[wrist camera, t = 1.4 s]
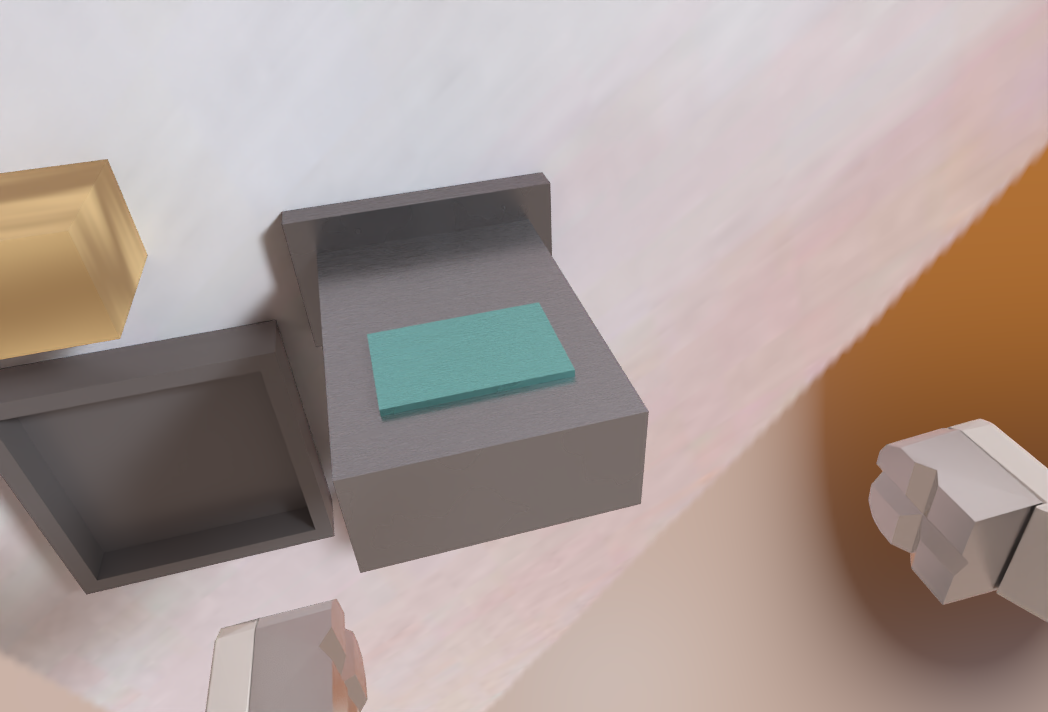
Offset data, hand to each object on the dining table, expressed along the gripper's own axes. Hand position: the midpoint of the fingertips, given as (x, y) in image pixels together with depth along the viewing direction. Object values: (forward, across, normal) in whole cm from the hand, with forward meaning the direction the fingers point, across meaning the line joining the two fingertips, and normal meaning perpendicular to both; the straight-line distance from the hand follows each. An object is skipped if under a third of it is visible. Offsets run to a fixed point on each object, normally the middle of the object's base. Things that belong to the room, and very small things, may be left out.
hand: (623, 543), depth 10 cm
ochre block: (+22, +14, +1) cm, 26 cm away
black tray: (+22, +15, +13) cm, 30 cm away
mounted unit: (+22, +1, +6) cm, 23 cm away
